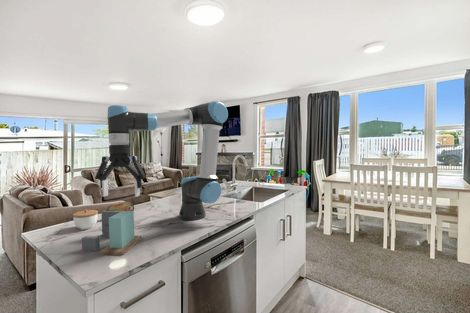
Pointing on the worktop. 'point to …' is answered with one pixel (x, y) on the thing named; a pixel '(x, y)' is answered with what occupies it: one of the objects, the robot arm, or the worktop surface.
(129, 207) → the tin
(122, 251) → the walnut board
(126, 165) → the robot arm
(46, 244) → the worktop surface
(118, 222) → the block
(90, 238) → the module cradle
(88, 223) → the lidded jar
